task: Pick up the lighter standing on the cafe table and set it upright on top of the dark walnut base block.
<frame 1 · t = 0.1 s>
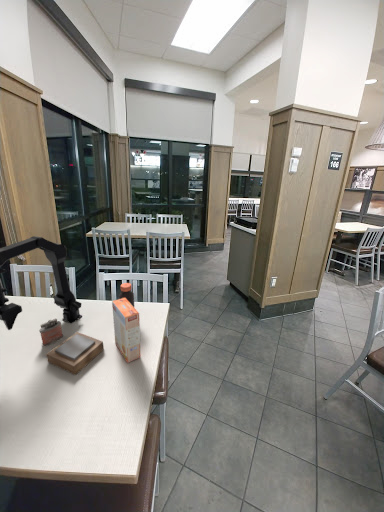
hand: (2, 325, 81), 15 cm above the table, fingers open, 9 cm apart
cracker box: (127, 350, 93), on the table
walnut base: (77, 355, 89), on the table
bottle: (128, 321, 111), on the table
lighter: (53, 341, 96), on the table
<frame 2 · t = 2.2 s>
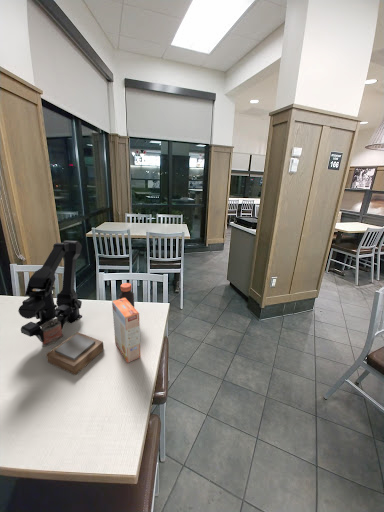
hand: (51, 336, 95), 3 cm above the table, fingers closed on lighter, 8 cm apart
lighter: (53, 340, 96), on the table, touching gripper
everything else where it was.
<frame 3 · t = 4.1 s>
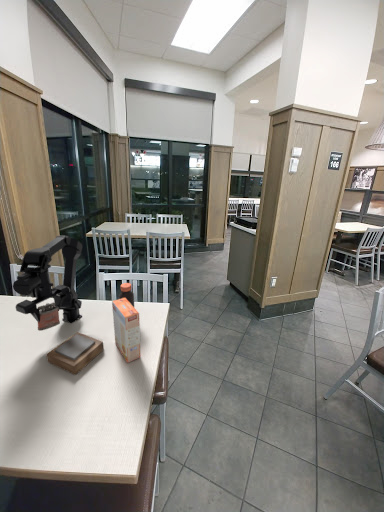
hand: (48, 316, 92), 12 cm above the table, fingers closed on lighter, 8 cm apart
lighter: (49, 326, 93), point 8 cm above the table, touching gripper
everything else where it was.
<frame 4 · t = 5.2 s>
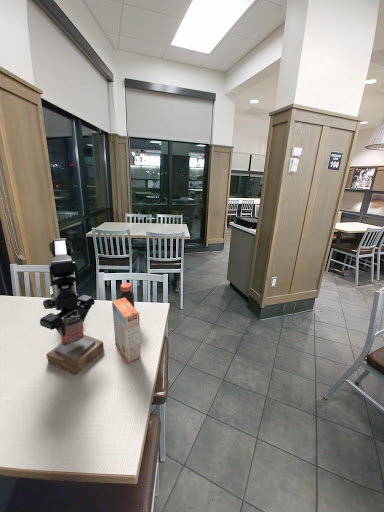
hand: (72, 329, 84), 12 cm above the table, fingers closed on lighter, 8 cm apart
lighter: (73, 340, 85), point 8 cm above the table, touching gripper
everything else where it was.
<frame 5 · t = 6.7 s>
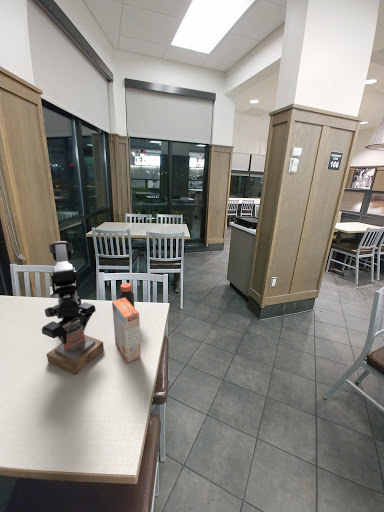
hand: (73, 337, 85), 9 cm above the table, fingers closed on lighter, 8 cm apart
lighter: (75, 345, 87), point 5 cm above the table, touching gripper, walnut base
everything else where it was.
when the fingers open (9 cm above the table, at t = 6.8 s): lighter stays where it is, resting on walnut base.
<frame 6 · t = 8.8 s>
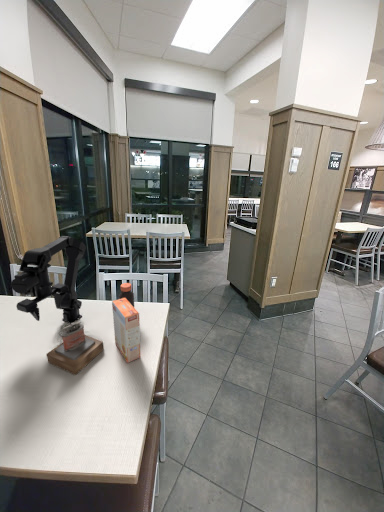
hand: (48, 314, 94), 12 cm above the table, fingers open, 9 cm apart
lighter: (75, 346, 87), point 5 cm above the table, touching walnut base
everything else where it was.
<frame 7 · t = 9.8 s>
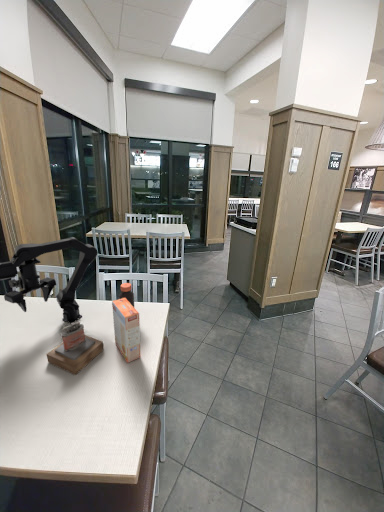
hand: (35, 306, 99), 12 cm above the table, fingers open, 9 cm apart
nothing on the table moved.
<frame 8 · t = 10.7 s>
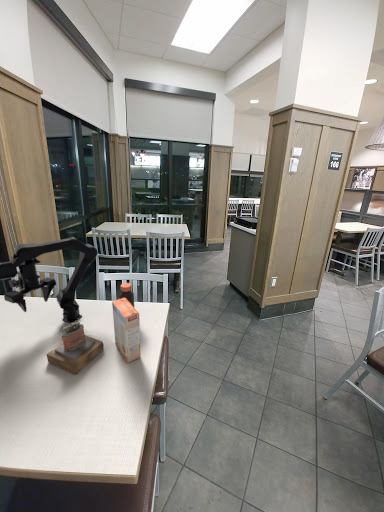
hand: (35, 306, 99), 12 cm above the table, fingers open, 9 cm apart
nothing on the table moved.
at the end: lighter inside the target area on the walnut base (0.1 cm from its centre), point 4.8 cm above the walnut base's base; lighter touching walnut base; lighter tilted 0° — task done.
